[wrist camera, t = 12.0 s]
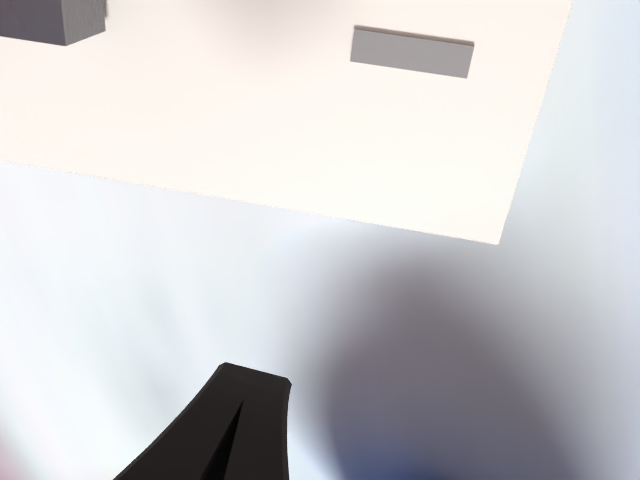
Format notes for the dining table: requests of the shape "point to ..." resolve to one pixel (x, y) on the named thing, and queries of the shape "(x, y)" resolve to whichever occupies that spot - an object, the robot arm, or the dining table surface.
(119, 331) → the dining table surface
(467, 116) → the cover plate
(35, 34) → the latch handle
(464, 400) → the dining table surface
